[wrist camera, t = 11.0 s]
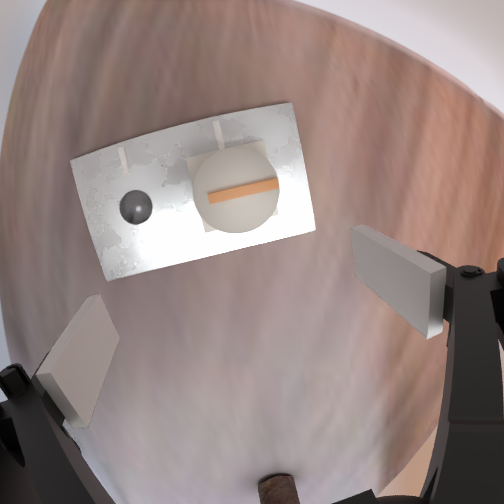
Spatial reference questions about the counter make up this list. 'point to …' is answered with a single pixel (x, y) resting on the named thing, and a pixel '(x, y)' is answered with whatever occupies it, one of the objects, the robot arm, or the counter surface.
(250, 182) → the knob
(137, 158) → the panel
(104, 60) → the counter surface
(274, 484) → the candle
